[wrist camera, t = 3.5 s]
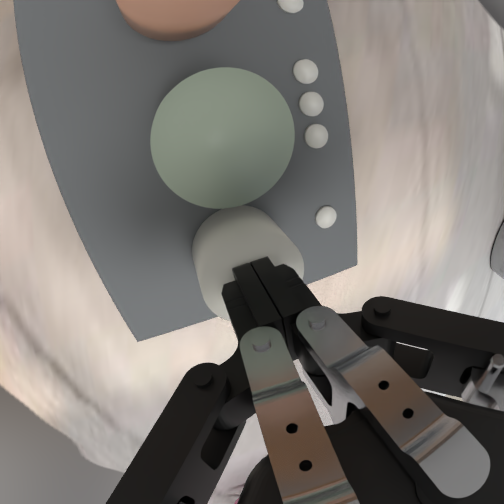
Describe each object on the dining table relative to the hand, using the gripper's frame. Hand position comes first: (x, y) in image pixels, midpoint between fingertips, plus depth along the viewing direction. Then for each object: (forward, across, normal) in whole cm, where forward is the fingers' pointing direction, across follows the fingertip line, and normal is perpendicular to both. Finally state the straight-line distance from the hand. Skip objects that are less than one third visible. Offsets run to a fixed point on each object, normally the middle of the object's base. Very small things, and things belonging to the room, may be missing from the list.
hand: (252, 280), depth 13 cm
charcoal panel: (+5, 0, -6) cm, 8 cm away
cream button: (+3, 0, 0) cm, 3 cm away
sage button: (+2, 0, -6) cm, 6 cm away
